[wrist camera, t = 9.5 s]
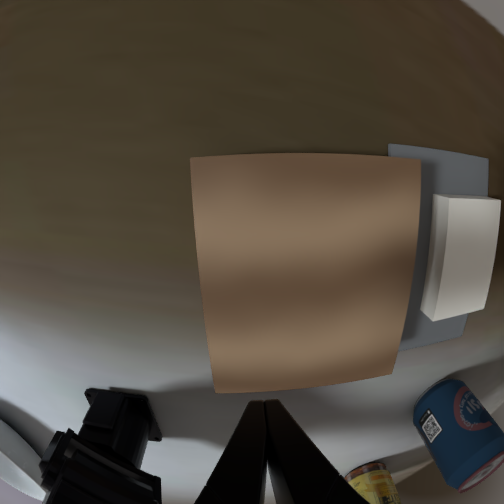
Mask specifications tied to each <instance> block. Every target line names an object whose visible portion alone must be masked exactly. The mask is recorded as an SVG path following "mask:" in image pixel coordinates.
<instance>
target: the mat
mask: <svg viewBox="0 0 504 504" xmlns="http://www.w3.org/2000/svg"><path fill="white" fill-rule="evenodd" d="M388 157H400V158H411V159H420V160H421V194H420V214H419V227H418V238H417V248H416V257H415V265H414V272H413V279H412V285H411V291H410V297H409V303H408V308H407V313H406V318H405V323H404V327H403V332H402V336H401V341H400V345H399V349H398V351H402V350H407V349H412V348H416V347H421V346H425V345H429V344H434V343H438V342H442V341H445V340H449V339H453V338H457V337H460V336H462V333H463V330H464V327H465V323H466V320H467V316H468V313H466V314H462V315H458V316H454V317H450V318H446V319H442V320H437V321H432V320H431V319H430V318H429V317H427V316H426V315H425V314H424V313H423V312H422V311H421V310H420V308H421V302H422V297H423V291H424V285H425V278H426V271H427V263H428V255H429V246H430V235H431V222H432V202H433V194H447V195H471V196H486V197H488V159H487V158H482V157H477V156H472V155H467V154H461V153H456V152H450V151H444V150H437V149H431V148H423V147H416V146H408V145H399V144H388Z"/></svg>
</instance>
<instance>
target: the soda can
mask: <svg viewBox="0 0 504 504" xmlns="http://www.w3.org/2000/svg"><path fill="white" fill-rule="evenodd" d="M413 423H414V425H415V427H416V429H417V430H418V432H419V434H420V436H421V437H422V439H423V441H424V443H425V445H426V446H427V448H428V450H429V452H430V454H431V455H432V457H433V459H434V461H435V463H436V465H437V466H438V468H439V470H440V472H441V474H442V476H443V478H444V479H445V482H446V483H447V485H449V486H451V487H453V488H455V489H457V490H458V492H459V493H463V492H465V491H468V490H469V489H471V488H473V487H475V486H476V485H478V484H479V483H481V482H482V481H483V480H484V479H486V478H487V477H488V476H490V475H491V474H492V473H493V472H494V471H495V470H497V468H499V467H500V465H501V464H502V463H503V462H504V433H503V431H502V430H501V429H500V427H499V426H498V425H497V423H496V422H495V421H494V419H493V418H492V417H491V416H490V414H489V413H488V412H487V410H486V409H485V408H484V407H483V405H482V404H481V403H480V402H479V400H478V399H477V398H476V397H475V396H474V394H473V393H472V392H471V391H470V389H469V388H468V387H467V386H466V385H465V383H464V382H462V381H460V380H455V379H444V380H441V381H439V382H437V383H435V384H434V385H432V386H431V387H429V388H428V389H427V390H426V391H425V392H424V393H423V394H422V395H421V396H420V398H419V399H418V400H417V402H416V404H415V407H414V414H413Z"/></svg>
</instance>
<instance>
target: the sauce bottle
mask: <svg viewBox="0 0 504 504" xmlns="http://www.w3.org/2000/svg"><path fill="white" fill-rule="evenodd" d="M344 479H345V480H346V481H347V482H348V483H349V484H350V485H351V486H352V487H353V488H354V489H355V490H356V491H357V492H358V493H359V494H360V495H361V496H362V497H363V498H365V499H366V500H367V501H368V502H369V503H371V504H401V501H400V498H399V496H398V493H397V490H396V488H395V485H394V482H393V480H392V477H391V475H390V472H389V471H387V469H386V466H385V465H384V464H383V463H369V464H366V465H364V466H361V467H359V468H357V469H355V470H353V471H351V472H350V473H349V474H348V475H346V476H345V478H344Z"/></svg>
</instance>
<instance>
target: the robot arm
mask: <svg viewBox="0 0 504 504" xmlns="http://www.w3.org/2000/svg"><path fill="white" fill-rule="evenodd" d="M84 394H85V396H86V398H87V400H88V402H89V404H90V408H89V410H88V412H87V414H86V416H85V417H84V419H83V425H82V427H81V429H80V431H79V433H78V435H77V434H76V433H74V431H73V430H71V429H70V428H68V430H67V432H66V433H65V432H61V431H56V433H55V435H54V437H53V439H52V441H51V442H50V444H49V446H48V448H47V450H46V452H45V454H44V455H43V457H42V459H41V461H40V463H39V465H38V466H39V468H40V471H41V473H42V475H41V478H42V482H41V484H40V486H41V487H42V488H44V489H45V490H47V493H46V495H45V497H44V500H43V502H42V504H162V498H161V478H160V477H157V476H153V475H151V474H148V473H146V472H144V471H142V470H140V468H141V464H142V460H143V457H144V453H145V449H146V446H147V442H148V441H158V442H160V441H161V440H162V434H161V432H160V430H159V427H158V425H157V422H156V420H155V417H154V414H153V412H152V409H151V406H150V404H149V401H148V399H147V397H145V396H143V395H134V394H124V393H115V392H107V391H100V390H93V389H86V391H85V393H84ZM267 464H268V470H269V474H270V479H271V483H272V487H273V491H274V496H275V500H276V504H371V503H369V502H368V501H367V500H366V499H365V498H363V497H362V496H361V495H360V494H359V493H358V492H357V491H356V490H355V489H354V488H353V487H352V486H351V485H350V484H349V483H348V482H347V481H346V480H345V479H344V477H343V476H342V475H339V474H340V473H339V472H338V471H337V470H336V469H335V468H334V466H333V465H332V464H331V463H330V462H329V461H328V459H327V458H326V457H325V456H324V455H323V454H322V452H321V451H320V450H319V449H318V448H317V447H316V445H315V444H314V443H313V442H312V441H311V439H310V438H309V437H308V436H307V435H306V433H305V432H304V431H303V430H302V428H301V427H300V426H299V425H298V424H297V422H296V421H295V420H294V419H293V417H292V416H291V415H290V414H289V412H288V411H287V410H286V408H285V407H284V406H283V405H282V403H281V402H280V401H279V400H278V399H271V400H265V401H263V400H253V401H250V402H249V403H248V405H247V407H246V409H245V411H244V413H243V415H242V417H241V419H240V421H239V423H238V425H237V427H236V429H235V431H234V433H233V435H232V437H231V438H230V440H229V442H228V444H227V446H226V448H225V450H224V452H223V454H222V456H221V457H220V459H219V461H218V463H217V465H216V467H215V468H214V470H213V472H212V474H211V476H210V478H209V479H208V481H207V483H206V485H207V486H204V488H203V490H202V491H201V493H200V495H199V496H198V498H197V500H196V501H195V503H194V504H264V499H265V487H266V474H267Z"/></svg>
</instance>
